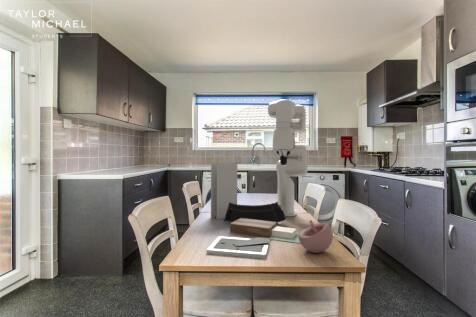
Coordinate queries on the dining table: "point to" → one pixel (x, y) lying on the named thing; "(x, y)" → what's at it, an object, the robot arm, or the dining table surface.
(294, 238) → the mat
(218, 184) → the tall grey block
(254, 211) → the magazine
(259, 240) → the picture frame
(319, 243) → the mortar and pestle
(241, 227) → the block
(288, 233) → the tile
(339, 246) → the dining table surface
